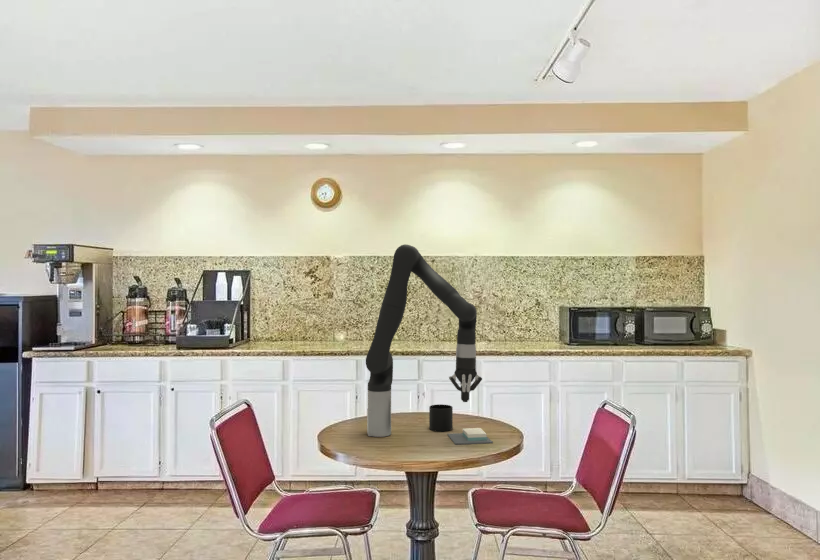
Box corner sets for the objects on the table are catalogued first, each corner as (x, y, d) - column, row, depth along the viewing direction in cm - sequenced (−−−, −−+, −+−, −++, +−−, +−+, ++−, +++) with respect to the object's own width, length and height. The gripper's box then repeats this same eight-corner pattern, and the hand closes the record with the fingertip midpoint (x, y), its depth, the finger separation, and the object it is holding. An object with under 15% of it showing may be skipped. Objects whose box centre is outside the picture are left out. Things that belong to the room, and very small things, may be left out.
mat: (455, 444, 201) (455, 443, 201) (447, 435, 214) (447, 433, 214) (492, 443, 203) (492, 441, 203) (482, 433, 216) (482, 432, 216)
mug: (441, 424, 233) (441, 402, 233) (457, 430, 222) (457, 407, 222) (421, 426, 228) (421, 404, 228) (437, 433, 218) (437, 410, 218)
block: (468, 434, 204) (486, 433, 205) (462, 428, 213) (480, 427, 214) (468, 441, 204) (486, 440, 205) (462, 434, 213) (480, 434, 214)
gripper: (451, 356, 204) (450, 403, 204) (485, 357, 206) (484, 403, 206) (446, 354, 212) (445, 399, 212) (480, 354, 214) (479, 399, 213)
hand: (465, 401), depth 209 cm, fingers closed
